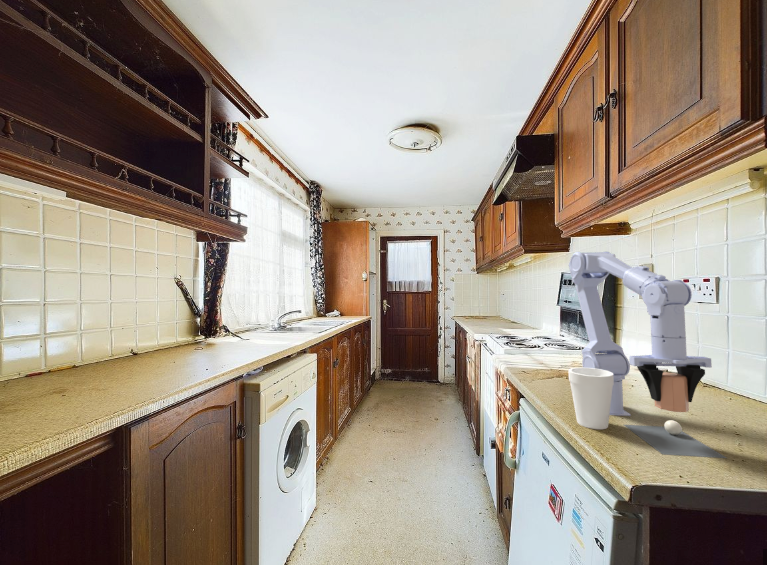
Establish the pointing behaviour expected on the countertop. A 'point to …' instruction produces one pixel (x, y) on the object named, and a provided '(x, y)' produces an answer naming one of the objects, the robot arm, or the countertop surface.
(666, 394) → the salmon pink faceted cylinder
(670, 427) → the marble
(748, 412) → the countertop surface
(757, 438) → the countertop surface
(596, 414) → the foam cup
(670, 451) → the mat
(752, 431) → the countertop surface
